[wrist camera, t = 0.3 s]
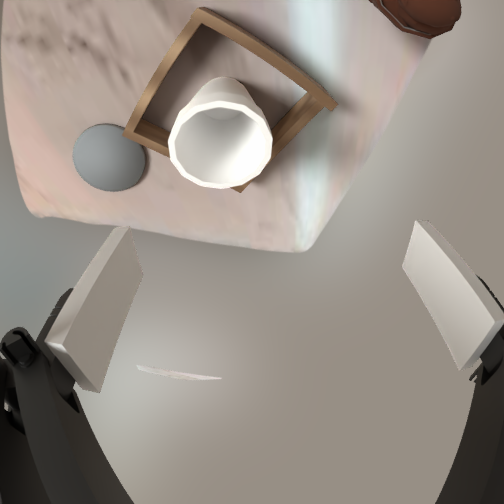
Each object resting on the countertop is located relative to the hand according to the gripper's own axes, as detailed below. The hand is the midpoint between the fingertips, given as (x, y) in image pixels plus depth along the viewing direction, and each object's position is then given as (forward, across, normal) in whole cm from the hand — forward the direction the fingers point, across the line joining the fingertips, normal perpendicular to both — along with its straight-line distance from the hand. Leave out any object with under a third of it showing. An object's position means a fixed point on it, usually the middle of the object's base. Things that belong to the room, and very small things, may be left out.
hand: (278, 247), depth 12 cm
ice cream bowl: (+23, +15, +22) cm, 35 cm away
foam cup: (+28, -4, +5) cm, 28 cm away
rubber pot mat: (+29, -22, -2) cm, 36 cm away
